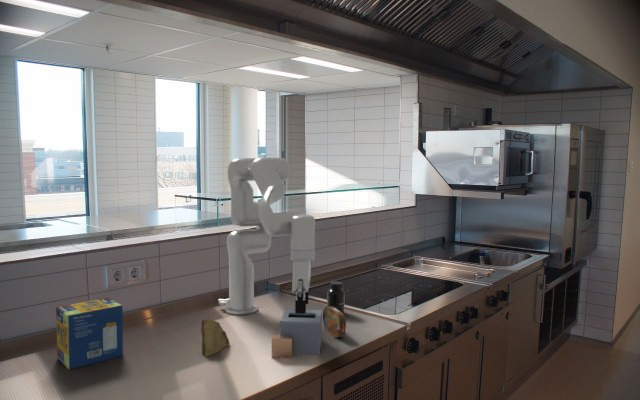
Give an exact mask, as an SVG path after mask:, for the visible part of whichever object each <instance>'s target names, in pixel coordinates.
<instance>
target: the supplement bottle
mask: <svg viewBox="0 0 640 400" xmlns="http://www.w3.org/2000/svg"><path fill="white" fill-rule="evenodd" d="M343 288H344V287H343V282H341V281H331V282H330V284H329V289H328V290H327V294H326V295H327V297H326V302H327V303H326V307H327V306H328V307H335V308H336V309H338V310H339V311H341V312H342V313H343V314H344V315H345V304H346V303H345V301H346V300H345V299H346V297H345V296H346V292H345V290H344V289H343Z"/></svg>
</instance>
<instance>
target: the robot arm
mask: <svg viewBox="0 0 640 400" xmlns="http://www.w3.org/2000/svg"><path fill="white" fill-rule="evenodd" d="M227 166H228V167H227V181H228V184H229V187H230V220H231V224H233V226H235V227H238V228H239V227H240V228H242V227H245V228H247V227H256V228H253V229H238V230H233V231H231V232H230V233H228V235H227V238H226V247H227V253H228V254H227V255H228V276H229V277H228V283H229V284H228V298H226V299H225V298H218V304H219V305H220V306H225V307H224V311H225V312H226V313H227V314H231V315H239V316H241V315H242V316H243V315H249V314H253V313H256V312H257V311H258V310H259V309H258V305H257V304H255V303H254V302H255V301H254V299H255V298H254V297H255V291H254V289H255V284H254V283H255V282H254V281H255V268H254V267H255V266H254V263H253V260H251V258H250V257H249V255H251V254H262V253H266V252H267V251H269V250H270V248H271V245H272V237H287V236H290V260H291V261H292V262H293V263H292V265H293V266H292V284H291V292H292V293H295V300H294V306H295V307H294V308H295V313H306V310H307V305H308V304H309V288H310V285H311V270H312V269H311V266H312V263H311V261H312V262H313V261H315V259H316V257H315V255H316V254H315V253H316V252H315V251H316V249H315V247H316V244H315V243H316V240H315V239H316V238H315V237H316V218H315V217H314V216H313V215H310V214H304V213H303V212H301V211H299V212H298V211H290V212H289V211H287V212H285V211H284V212H274V211H273V210H272V207H271V206H270V205H273V204H275V203H277V202H279V201H280V200H281V199H282V198H283V197H284V196H285V194H286V192H287V187H286V184H285V183H284V182H286V181H287V180H289V178H290V176H291V173H292V169H291V165H290V163H289V162H288V160H287V159H285V158H282V157H266V156H265V157H258V158H255V157H241V158H235V159H231V161H230V162H229V164H228V165H227ZM250 181H253V182H255V183H256V186H257V188H258V189H259V192H260V194H261V197H260V200H259V201H254V189H253V187H252V185H251V184H250Z"/></svg>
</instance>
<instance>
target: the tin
mask: <svg viewBox="0 0 640 400" xmlns="http://www.w3.org/2000/svg"><path fill="white" fill-rule="evenodd" d="M322 321H323V323H322V324H323V327H324V329H325V330H326V332H328V334H330V335H332V337H333V338H342V337H344V336H345V334H346V328H347V326H346V325H347V319H346V316H345V313H344V314H343V313H342V312H341V311H339V310H338V309H336V308H335V307H328V306H327V305H326V306H325V307H324V309H323V311H322Z"/></svg>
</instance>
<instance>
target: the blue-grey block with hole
mask: <svg viewBox="0 0 640 400" xmlns="http://www.w3.org/2000/svg"><path fill="white" fill-rule="evenodd" d="M322 321H323V310H322V309H306V313H295V309H291V308H290V309H289V308H285V309H284V311H283V314H282V316H281V319H280V323H279V324H280V325H279V336H293V354H295V355H320V352H321V345H322V334H323V333H322V332H323V331H322V328H323V327H322V326H323V325H322V324H323V323H322Z"/></svg>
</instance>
